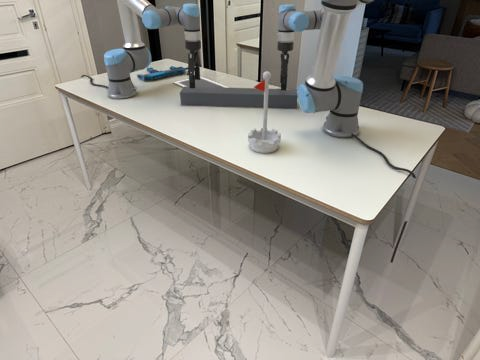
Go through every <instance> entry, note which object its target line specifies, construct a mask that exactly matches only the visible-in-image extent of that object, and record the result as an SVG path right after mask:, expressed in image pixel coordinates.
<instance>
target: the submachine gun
mask: <svg viewBox="0 0 480 360" xmlns="http://www.w3.org/2000/svg"><path fill="white" fill-rule="evenodd" d="M146 71H147V72H149V73H145V74H143V73H142V74H141V73H138V74H136V78H138V79H139V80H141V81H145V82H146V81H152V80H153V81H156V79H159V78H164V77H168V76H172V75H178V74H184V73H185V72H186V71H188V66H187V67H183V66H174V65H172V66H169V69H167V70H157V69H154V68H153V67H147V68H146Z"/></svg>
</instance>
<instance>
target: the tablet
mask: <svg viewBox="0 0 480 360" xmlns="http://www.w3.org/2000/svg"><path fill="white" fill-rule="evenodd" d="M172 84H174V85H177V86H179V87H181V88H183V87H184V86H185V87H190V85H189V78H186V79H182V80H178V81H173V82H172ZM195 87H224V88H231V87H230V86H227V85H224V84H222V83H219V82H216V81H214V80H212V79H208V78H206V77H203V76H201V75H200V80H195Z"/></svg>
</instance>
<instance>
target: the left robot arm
mask: <svg viewBox="0 0 480 360" xmlns="http://www.w3.org/2000/svg"><path fill="white" fill-rule="evenodd" d="M116 2H117V8H118V12H119V13H118V14H119V18H120V23H121V27H122V28H121V29H122V33H123V37H124V44H123V45H122V47H123V48H115V49H114V48H113V49H111V50H108V51H106V52H105V53H104V54H103V60H104V62H103V63H104V66H105V70H106V75H107V78H108V86H107V85H104V84H97V83H94V82H93V81H92V80H93V77H91V76H89V75H87V74H82V75H81V76H80V78H83V77H86V78H89V83H90V84H91V85H92V86H96V87H102V88H105V89H107V95H108V97H109V98H110V99H112V100H113V99H115V100H124V99H129V98H133V97H134V96H136V95H137V94H138V93H137V86H135V85H134V83H133V81H132V78H131V73H134V72H139V71H143V70H145V69H147V68H149V66H150V65H151V63H152V54H151V52H150V49H149V48H148V47H147V46H146V44H145V43H144V42H143V41H142V38H141V31H140V25H139V19H138V16H139V17H140V18H141V21H142V24H143V25H144V27H145V28H146V29H149V30H157V29H161V28H165V27H171V26H175V25H176V26H177V25H178V26H183V30H184V32H183V35H184V47H185V50H188V51H189V53H188V54H187V59H188V60H187V67H188V70H187V73H186V75H187V76H188V79H189V85H190V88H195V80H200V76H201V67H202V64H201V59H200V52H199V50H201V49H202V42H201V41H202V35H201V13H200V12H201V11H200V6H199V4H198V3H184V4H183V5H182V7H178V6H174V5H167V6H165V7H164V8H157V7H156V6H155V5H153V4H152V3H150V2H149V1H148V0H116Z"/></svg>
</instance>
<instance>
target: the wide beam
mask: <svg viewBox="0 0 480 360" xmlns="http://www.w3.org/2000/svg"><path fill="white" fill-rule="evenodd" d="M297 92H298V88H297V89H296V88H286V91H285V90H281V88H269V89H268V109H291V110H293V109H295V110H296V109H297V107H298V95H297ZM179 98H180V106H187V107H189V106H190V107H220V108H221V107H224V108H225V107H226V108H227V107H228V108H254V109H255V108H256V109H257V108H258V109H259V108H260V109H264V91H261V90H259V89H256V88H254V87H230V88H224V87H195V88H190V87H185V86H184V87H182V88H181V90H180V91H179Z"/></svg>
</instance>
